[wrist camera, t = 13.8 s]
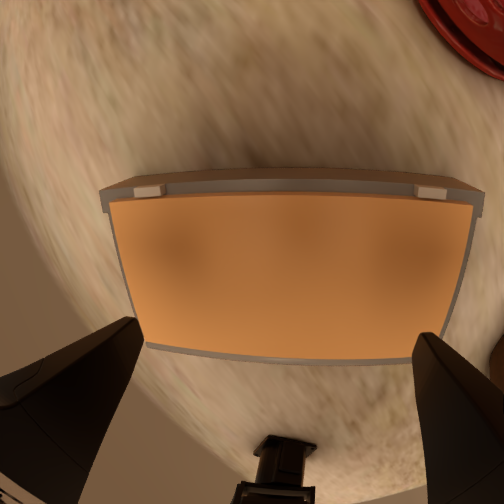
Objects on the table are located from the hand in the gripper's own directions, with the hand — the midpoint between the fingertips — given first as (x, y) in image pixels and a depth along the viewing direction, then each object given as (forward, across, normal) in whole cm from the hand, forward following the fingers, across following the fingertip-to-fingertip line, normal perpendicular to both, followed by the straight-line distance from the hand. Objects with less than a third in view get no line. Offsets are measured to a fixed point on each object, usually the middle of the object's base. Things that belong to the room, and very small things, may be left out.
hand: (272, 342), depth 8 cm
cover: (+7, 0, +2) cm, 7 cm away
